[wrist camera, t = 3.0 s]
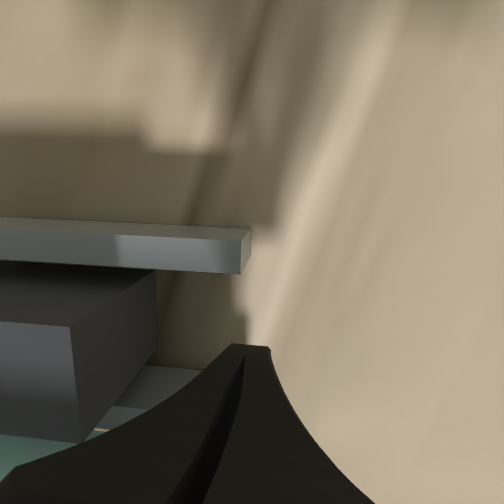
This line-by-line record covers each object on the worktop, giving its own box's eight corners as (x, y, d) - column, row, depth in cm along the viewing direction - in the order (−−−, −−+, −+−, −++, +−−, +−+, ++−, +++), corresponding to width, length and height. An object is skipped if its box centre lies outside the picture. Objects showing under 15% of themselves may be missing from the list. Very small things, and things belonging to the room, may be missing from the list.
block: (158, 346, 16) (81, 444, 10) (12, 333, 16) (-139, 416, 11) (155, 269, 15) (69, 327, 9) (1, 260, 16) (-171, 306, 10)
